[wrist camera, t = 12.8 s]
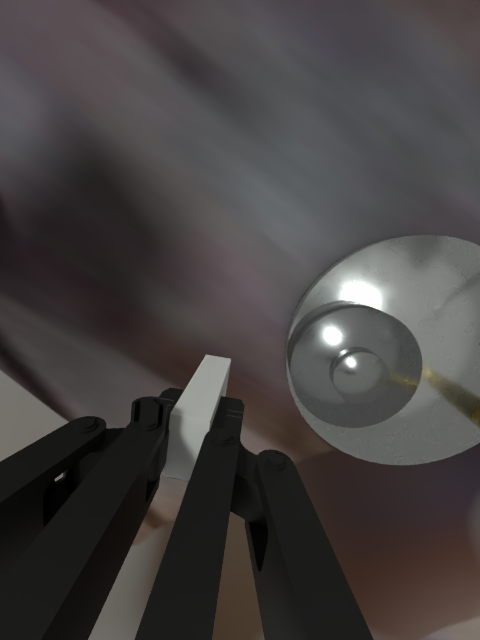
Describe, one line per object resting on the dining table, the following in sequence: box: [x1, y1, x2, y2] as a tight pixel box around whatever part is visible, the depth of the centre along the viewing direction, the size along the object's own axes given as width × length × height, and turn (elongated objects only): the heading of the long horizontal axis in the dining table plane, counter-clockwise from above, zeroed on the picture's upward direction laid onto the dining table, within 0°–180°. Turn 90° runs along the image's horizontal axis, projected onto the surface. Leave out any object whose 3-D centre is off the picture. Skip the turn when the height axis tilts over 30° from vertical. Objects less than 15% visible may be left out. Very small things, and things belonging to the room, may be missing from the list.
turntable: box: [285, 235, 480, 465], centre depth 23 cm, size 23×22×9 cm
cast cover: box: [287, 300, 422, 428], centre depth 24 cm, size 10×10×6 cm
